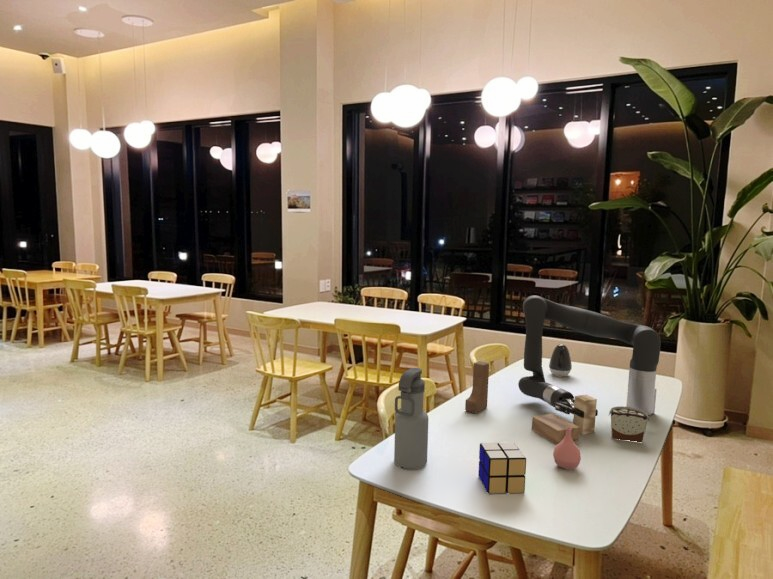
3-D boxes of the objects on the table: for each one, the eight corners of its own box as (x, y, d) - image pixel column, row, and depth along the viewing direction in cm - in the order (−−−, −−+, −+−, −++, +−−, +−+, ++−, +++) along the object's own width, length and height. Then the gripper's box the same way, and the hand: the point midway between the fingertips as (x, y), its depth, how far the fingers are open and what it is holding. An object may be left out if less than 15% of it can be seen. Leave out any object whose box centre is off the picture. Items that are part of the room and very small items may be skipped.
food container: (644, 437, 173) (647, 408, 172) (647, 444, 168) (650, 415, 166) (605, 431, 177) (607, 403, 176) (606, 438, 172) (609, 409, 170)
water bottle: (416, 474, 144) (419, 378, 141) (387, 465, 149) (389, 372, 146) (432, 460, 153) (435, 369, 149) (404, 452, 158) (406, 364, 154)
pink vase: (558, 459, 156) (560, 421, 154) (583, 466, 151) (586, 428, 149) (548, 468, 150) (550, 428, 148) (574, 476, 145) (577, 436, 143)
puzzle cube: (477, 476, 144) (479, 442, 143) (512, 475, 145) (514, 441, 144) (487, 494, 134) (489, 458, 133) (524, 493, 135) (527, 457, 134)
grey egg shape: (550, 377, 241) (552, 346, 239) (547, 371, 251) (549, 341, 249) (572, 379, 239) (575, 347, 237) (568, 372, 249) (570, 342, 247)
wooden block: (474, 414, 191) (476, 367, 189) (464, 411, 194) (466, 365, 192) (487, 408, 198) (489, 363, 196) (477, 405, 201) (479, 360, 199)
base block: (552, 427, 181) (553, 413, 181) (578, 441, 169) (579, 427, 169) (531, 430, 178) (532, 416, 177) (556, 445, 166) (557, 430, 166)
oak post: (584, 427, 181) (586, 394, 179) (594, 432, 176) (596, 399, 175) (572, 428, 179) (574, 395, 178) (582, 434, 175) (584, 400, 173)
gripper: (542, 390, 187) (573, 405, 171) (574, 386, 192) (607, 401, 176) (541, 409, 188) (572, 426, 172) (573, 405, 193) (606, 422, 177)
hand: (590, 414), depth 174 cm, fingers closed on oak post, 5 cm apart
